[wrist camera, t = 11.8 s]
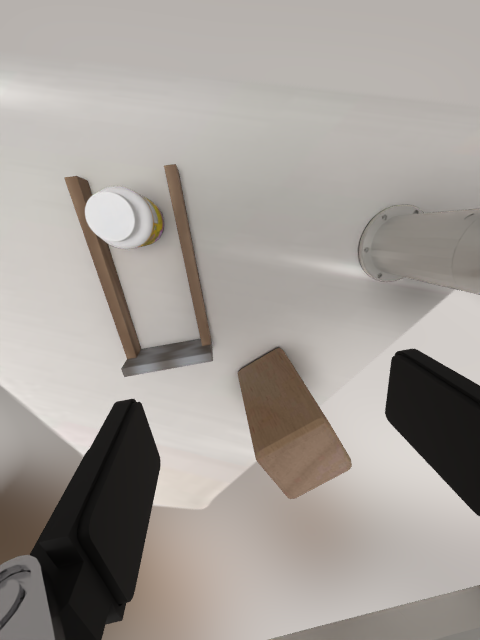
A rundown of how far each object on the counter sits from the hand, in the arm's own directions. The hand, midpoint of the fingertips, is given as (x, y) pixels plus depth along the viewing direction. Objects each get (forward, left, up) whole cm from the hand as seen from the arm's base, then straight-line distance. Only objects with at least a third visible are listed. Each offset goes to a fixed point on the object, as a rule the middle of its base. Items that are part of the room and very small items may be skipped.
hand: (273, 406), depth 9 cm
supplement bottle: (+11, -9, -33) cm, 36 cm away
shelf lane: (+11, -1, -33) cm, 35 cm away
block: (-6, +22, -33) cm, 40 cm away
